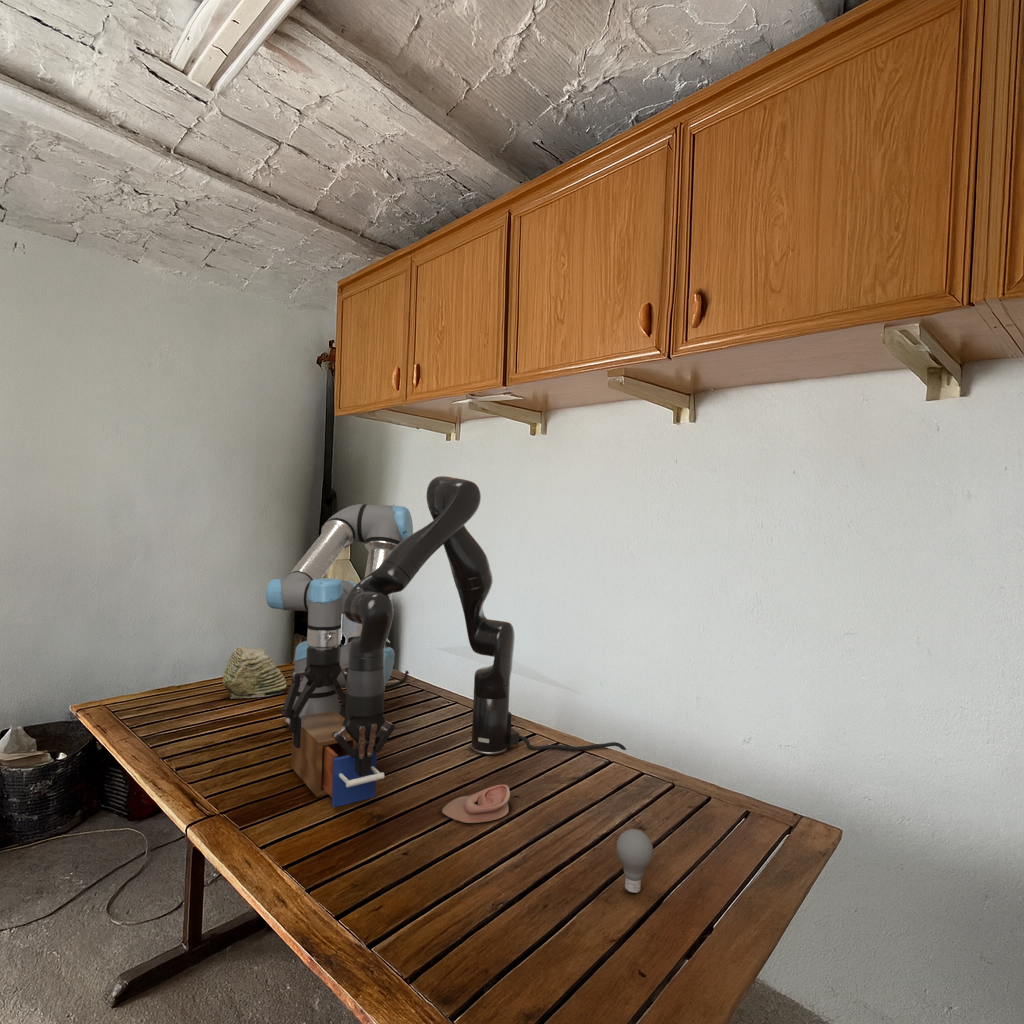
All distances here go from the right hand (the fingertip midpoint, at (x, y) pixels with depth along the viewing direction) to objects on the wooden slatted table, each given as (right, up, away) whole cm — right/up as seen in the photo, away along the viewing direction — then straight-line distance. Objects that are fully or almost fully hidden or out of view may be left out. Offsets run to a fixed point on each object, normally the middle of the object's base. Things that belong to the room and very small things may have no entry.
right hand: (362, 774), depth 127 cm
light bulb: (+50, -11, -21) cm, 56 cm away
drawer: (-5, -7, +7) cm, 11 cm away
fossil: (-51, -5, +71) cm, 87 cm away
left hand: (-14, -1, +20) cm, 24 cm away
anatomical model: (+23, -9, +4) cm, 25 cm away
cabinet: (-12, -7, +16) cm, 22 cm away
